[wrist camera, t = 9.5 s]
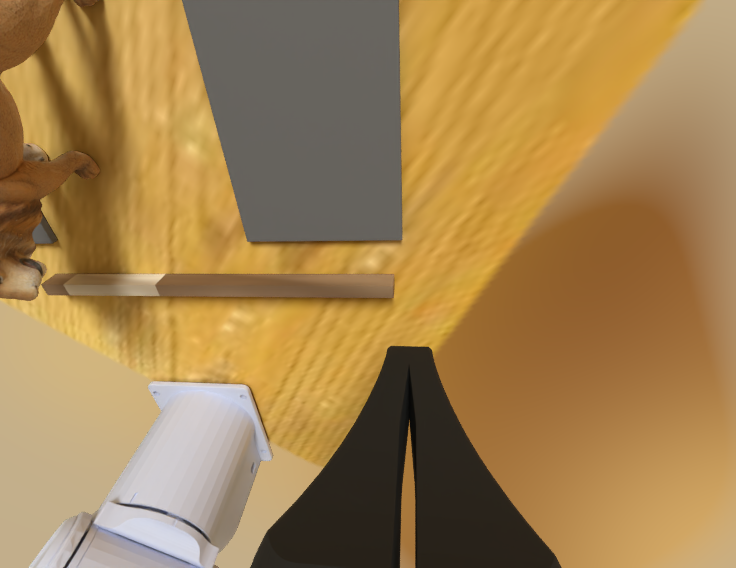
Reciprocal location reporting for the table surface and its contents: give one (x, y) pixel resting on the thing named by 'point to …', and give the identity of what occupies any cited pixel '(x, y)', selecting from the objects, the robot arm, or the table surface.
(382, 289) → the wooden sticks
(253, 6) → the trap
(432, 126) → the table surface
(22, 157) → the lion figurine
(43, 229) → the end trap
